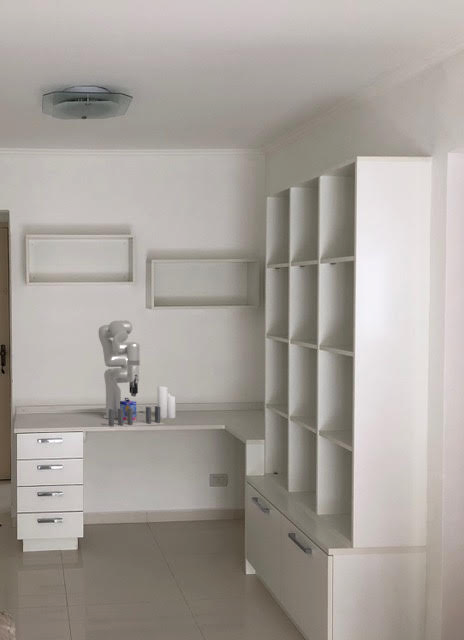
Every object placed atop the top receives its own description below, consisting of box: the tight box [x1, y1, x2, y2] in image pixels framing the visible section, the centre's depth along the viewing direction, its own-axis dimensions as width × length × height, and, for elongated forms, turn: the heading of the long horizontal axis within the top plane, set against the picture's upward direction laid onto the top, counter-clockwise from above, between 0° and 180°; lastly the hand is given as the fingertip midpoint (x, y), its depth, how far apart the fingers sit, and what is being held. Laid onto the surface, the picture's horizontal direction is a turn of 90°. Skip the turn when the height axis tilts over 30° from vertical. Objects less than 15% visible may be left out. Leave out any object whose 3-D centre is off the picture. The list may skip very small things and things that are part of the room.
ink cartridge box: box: [120, 397, 138, 422], centre depth 597 cm, size 10×6×14 cm, turn 51°
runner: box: [104, 420, 165, 428], centre depth 578 cm, size 12×35×1 cm, turn 116°
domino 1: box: [108, 409, 115, 428], centre depth 571 cm, size 2×5×10 cm, turn 26°
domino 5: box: [145, 406, 152, 424], centre depth 582 cm, size 2×5×10 cm, turn 26°
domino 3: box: [126, 408, 134, 425], centre depth 577 cm, size 2×5×10 cm, turn 26°
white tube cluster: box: [157, 385, 176, 419], centre depth 608 cm, size 11×7×20 cm, turn 96°
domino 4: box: [130, 381, 137, 397], centre depth 578 cm, size 2×5×10 cm, turn 24°
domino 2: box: [117, 408, 124, 426], centre depth 574 cm, size 2×5×10 cm, turn 26°
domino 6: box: [154, 405, 161, 423], centre depth 584 cm, size 2×5×10 cm, turn 26°
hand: (133, 392), depth 578 cm, fingers closed on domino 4, 4 cm apart
